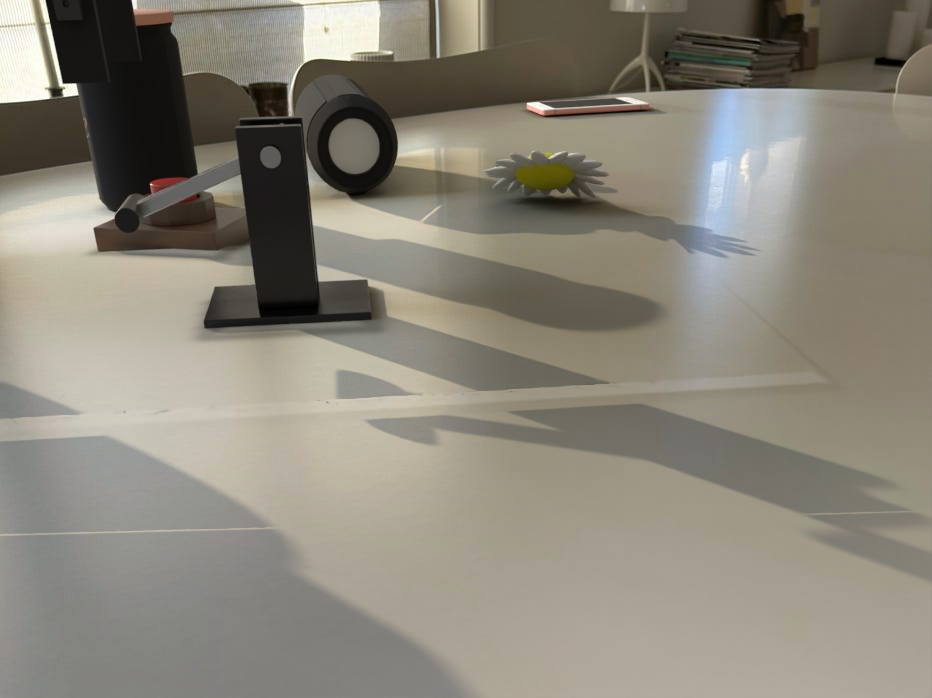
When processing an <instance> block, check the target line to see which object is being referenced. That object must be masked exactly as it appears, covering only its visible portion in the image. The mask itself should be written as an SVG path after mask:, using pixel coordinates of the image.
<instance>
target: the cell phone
mask: <svg viewBox="0 0 932 698" xmlns="http://www.w3.org/2000/svg"><path fill="white" fill-rule="evenodd" d="M649 109H650V103H649V102H647V101H642V100H639V99H636V98H633V97H629V96H623V97H604V98H603V97H602V98H601V97H600V98H587V99H566V100H552V101H551V100H550V101H548V100H547V101H533V102H527V103H526V110H528V111H531V112H533V113H536V114H539V115H540V116H557V115H558V116H559V115H561V116H562V115H576V114H591V113H592V114H593V113H608V112H609V113H611V112H625V111H627V112H629V111H645V110H649Z"/></svg>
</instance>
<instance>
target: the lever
mask: <svg viewBox="0 0 932 698" xmlns="http://www.w3.org/2000/svg"><path fill="white" fill-rule="evenodd" d="M279 125H284V123H281V124H279ZM238 176H241V173H240V166H239V158H238V155H237V156H235V157H232V158H231V159H228V160H225V162H224V161H223V162H221V163H219V164H217V165H215V166H213V167H211V168H208V169H206V170H204V171H202V172H200V173H199V172H198V174H197V175H195V176H193V177H190V178H188V179H186V180H184V181H182V182H179V183H177V184H175V185H173V186H170V187H168V188H166V189H164V190H162V191H159V192H157V193H155V194H153V195H150V196H148V197H146V198H145V197H144V196H142V195H140V194H132V195H130V196H129V197H128V198H127V199H126V200H125V202H124V203H123V204H122V206H121V207H120V208H119V209H118V211H117V212H115V214H114V218H113V219H114V220H115V224H116V226H117V227H118V229H119V230H121V231H122V232H124V233H133V232H135V231H136V230H137V229H138V228H139V226H140V225H141V223H142V222H143V220H144V219H145V217H146V216H148V215H151V214H153V213H155V212H157V211H159V210H162V209H164V208H166V207H168V206H171V205H173V204H175V203H177V202H180V201H182V200H184V199H186V198H188V197H191V196H193V195H195V194H197V193H200V192H202V191H206V190H209V189H211V188H213V187H215V186H217V185H220V184H222V183H224V182H227V181H230V180H231V179H233V178H235V177H238Z"/></svg>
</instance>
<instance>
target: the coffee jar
mask: <svg viewBox="0 0 932 698" xmlns="http://www.w3.org/2000/svg"><path fill="white" fill-rule="evenodd" d="M133 10H134V15H135V21H136V27H137V33H138V39H139V45H140V51H141V57H142V61H136V62H107V66H108V71H109V77H110V82H108V83H77V84H75V85H76V89H77V94H78V95H77V96H78V99H79V104H80V109H81V114H82V120H83V125H84V129H85V134H86V138H87V139H86V140H87V145H88V149H89V153H90V158H91V163H92V169H93V174H94V179H95V183H96V189H97V194H98V198H99V200H100V201H101V203H102V204H103V205H104V206H105V207H106V209H107V210H108V211H110V212H112V213H116V212H117V211H118V209H119V208H120V207H121V206H122V204H123V203H124V202H125V200H126V199H127V198H128V197H129V196H130V195H132V194H140V195H142V196H144V195H146V194H151V193H152V192H151V187H150V183H151V182H152V181H155V180H159V179H165V178H190V177H193V176H195V175H197V174H199V171H198V164H197V157H196V151H195V146H194V145H195V144H194V139H193V138H194V137H193V132H192V124H191V119H190V113H189V106H188V99H187V92H186V86H185V79H184V73H183V66H182V60H181V54H180V47H179V42H178V39H177V37H176V36H175V35H174V33H173V32H172V26H173V22H174V21H175V19H174V11H173V10H171V9H163V8H162V9H161V8H159V9H158V8H133Z"/></svg>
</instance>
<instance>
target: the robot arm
mask: <svg viewBox="0 0 932 698" xmlns="http://www.w3.org/2000/svg"><path fill="white" fill-rule="evenodd" d="M44 1H45V7H46V11H47V15H48V20H49V25H50V29H51V34H52V39H53V45H54V49H55V54H56V59H57V63H58V64H57V65H58V67H59V72H60V77H61V82H62V85H73V84H75V85H76V84H77V83H108V82H110V77H109V71H108V66H107V62H136V61H142V57H141V51H140V45H139V39H138V33H137V27H136V21H135V15H134V10H133V9H134V4H133V0H44Z"/></svg>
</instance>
